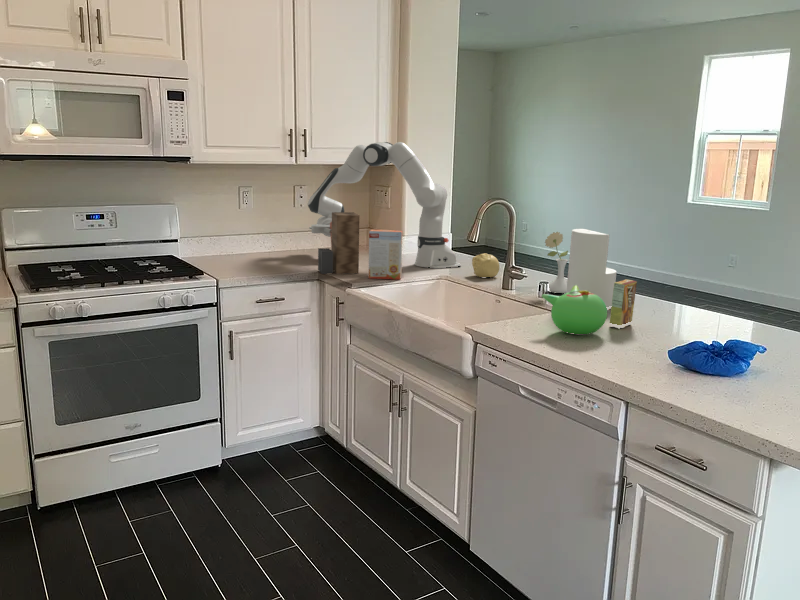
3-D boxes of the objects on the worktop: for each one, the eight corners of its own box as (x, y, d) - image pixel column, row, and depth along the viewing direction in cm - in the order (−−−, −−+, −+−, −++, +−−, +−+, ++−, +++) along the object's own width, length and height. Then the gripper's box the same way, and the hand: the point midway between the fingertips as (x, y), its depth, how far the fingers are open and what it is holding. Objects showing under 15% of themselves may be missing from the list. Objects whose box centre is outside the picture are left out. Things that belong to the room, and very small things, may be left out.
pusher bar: (335, 223, 328) (337, 221, 325) (338, 263, 325) (339, 262, 322) (329, 223, 327) (330, 221, 324) (332, 263, 324) (333, 262, 321)
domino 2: (330, 271, 304) (330, 249, 302) (331, 272, 302) (331, 250, 300) (319, 271, 303) (319, 249, 300) (320, 272, 301) (320, 250, 299)
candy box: (620, 322, 230) (625, 278, 226) (632, 325, 227) (637, 280, 224) (608, 327, 223) (613, 282, 220) (620, 330, 221) (625, 284, 217)
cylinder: (580, 312, 243) (588, 234, 237) (556, 301, 260) (563, 228, 253) (622, 310, 248) (630, 234, 242) (596, 299, 264) (603, 228, 258)
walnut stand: (352, 268, 313) (353, 212, 307) (358, 273, 301) (359, 215, 295) (331, 269, 310) (331, 212, 304) (336, 273, 298) (337, 215, 293)
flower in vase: (570, 290, 280) (575, 230, 274) (576, 296, 268) (582, 234, 263) (538, 289, 280) (543, 229, 274) (543, 295, 269) (548, 233, 263)
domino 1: (328, 270, 307) (329, 248, 305) (329, 270, 306) (329, 248, 303) (318, 270, 306) (318, 248, 304) (318, 270, 304) (318, 249, 302)
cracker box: (401, 277, 295) (403, 230, 290) (400, 280, 289) (401, 231, 284) (369, 276, 296) (371, 228, 292) (367, 278, 290) (369, 230, 286)
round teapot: (578, 344, 203) (582, 296, 200) (536, 330, 216) (540, 286, 213) (615, 336, 213) (620, 290, 210) (573, 323, 227) (577, 281, 223)
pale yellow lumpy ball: (467, 275, 306) (468, 251, 304) (490, 274, 310) (492, 251, 308) (479, 280, 296) (480, 255, 293) (503, 278, 300) (504, 255, 298)
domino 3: (331, 272, 301) (332, 250, 298) (332, 273, 299) (332, 251, 297) (320, 273, 299) (320, 250, 297) (321, 273, 298) (321, 251, 296)
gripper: (308, 221, 333) (313, 224, 320) (349, 221, 339) (355, 224, 326) (308, 233, 334) (313, 237, 321) (348, 233, 340) (354, 237, 327)
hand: (334, 231), depth 324 cm, fingers open, 3 cm apart
